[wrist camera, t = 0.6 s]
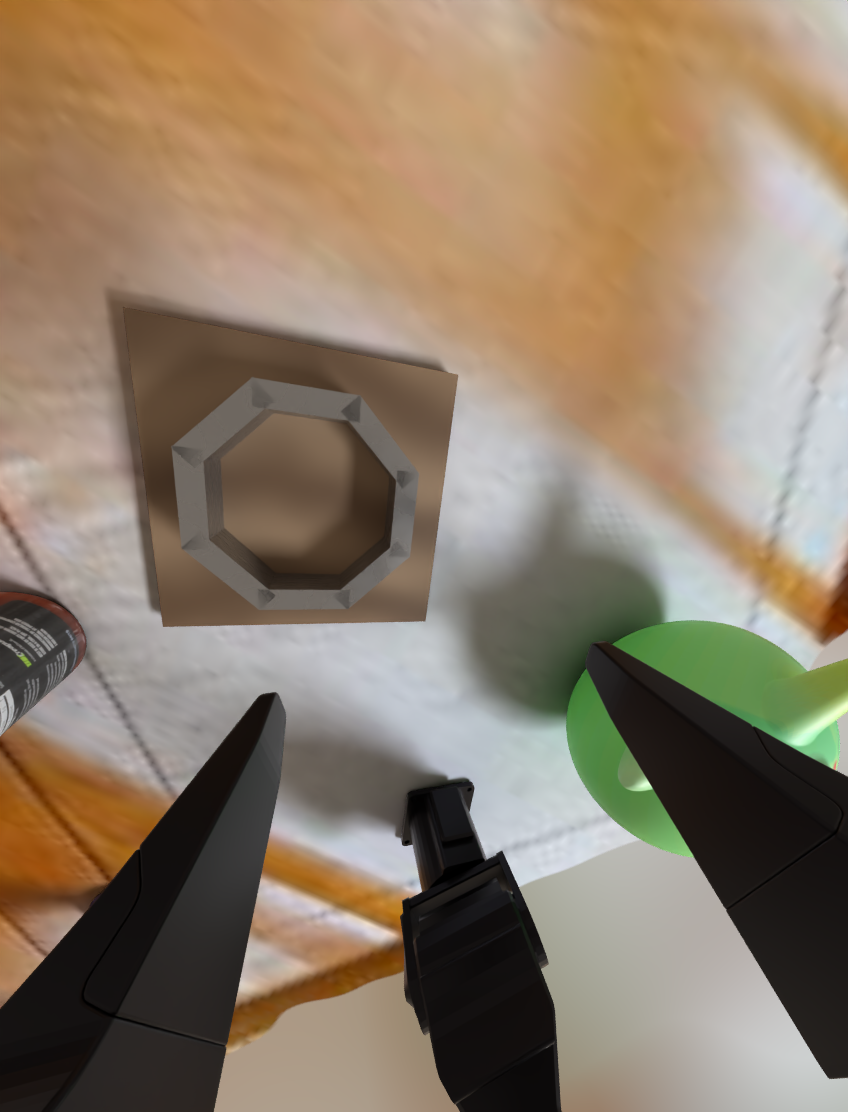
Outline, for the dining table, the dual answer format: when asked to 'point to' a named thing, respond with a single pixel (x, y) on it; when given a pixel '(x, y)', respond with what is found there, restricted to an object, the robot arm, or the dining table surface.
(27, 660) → the supplement bottle
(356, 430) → the ring
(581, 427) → the dining table surface
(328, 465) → the stand
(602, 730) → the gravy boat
